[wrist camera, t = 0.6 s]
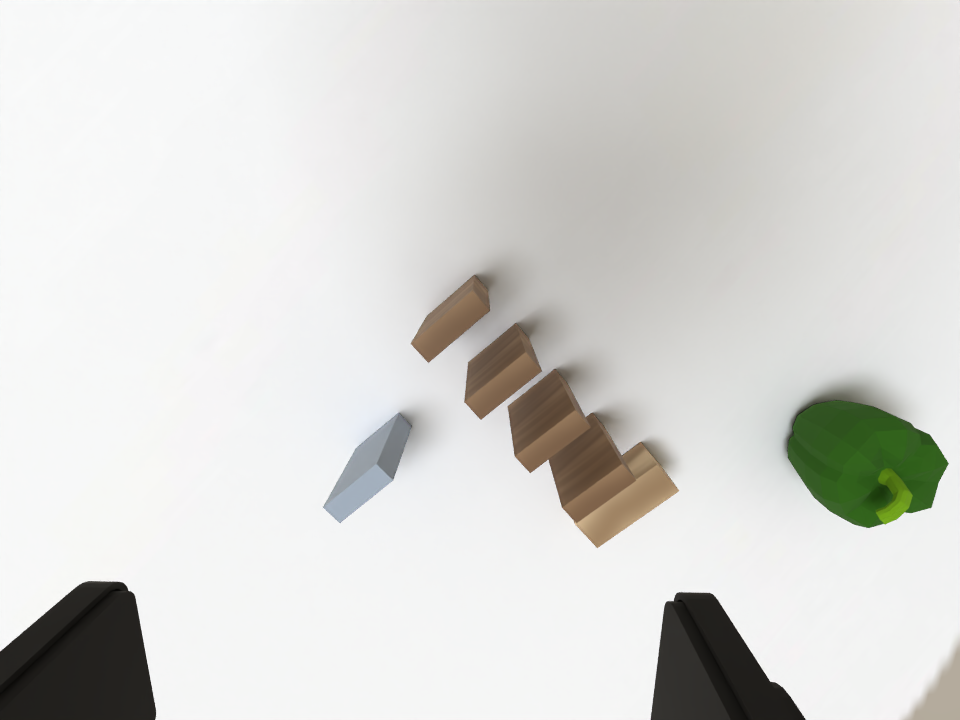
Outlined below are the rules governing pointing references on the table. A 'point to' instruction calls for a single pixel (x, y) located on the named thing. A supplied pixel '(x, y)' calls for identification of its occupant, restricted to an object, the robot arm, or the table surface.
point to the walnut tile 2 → (500, 371)
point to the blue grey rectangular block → (369, 468)
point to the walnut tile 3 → (545, 421)
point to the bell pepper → (865, 462)
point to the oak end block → (630, 498)
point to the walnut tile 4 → (589, 471)
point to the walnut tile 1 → (452, 318)
